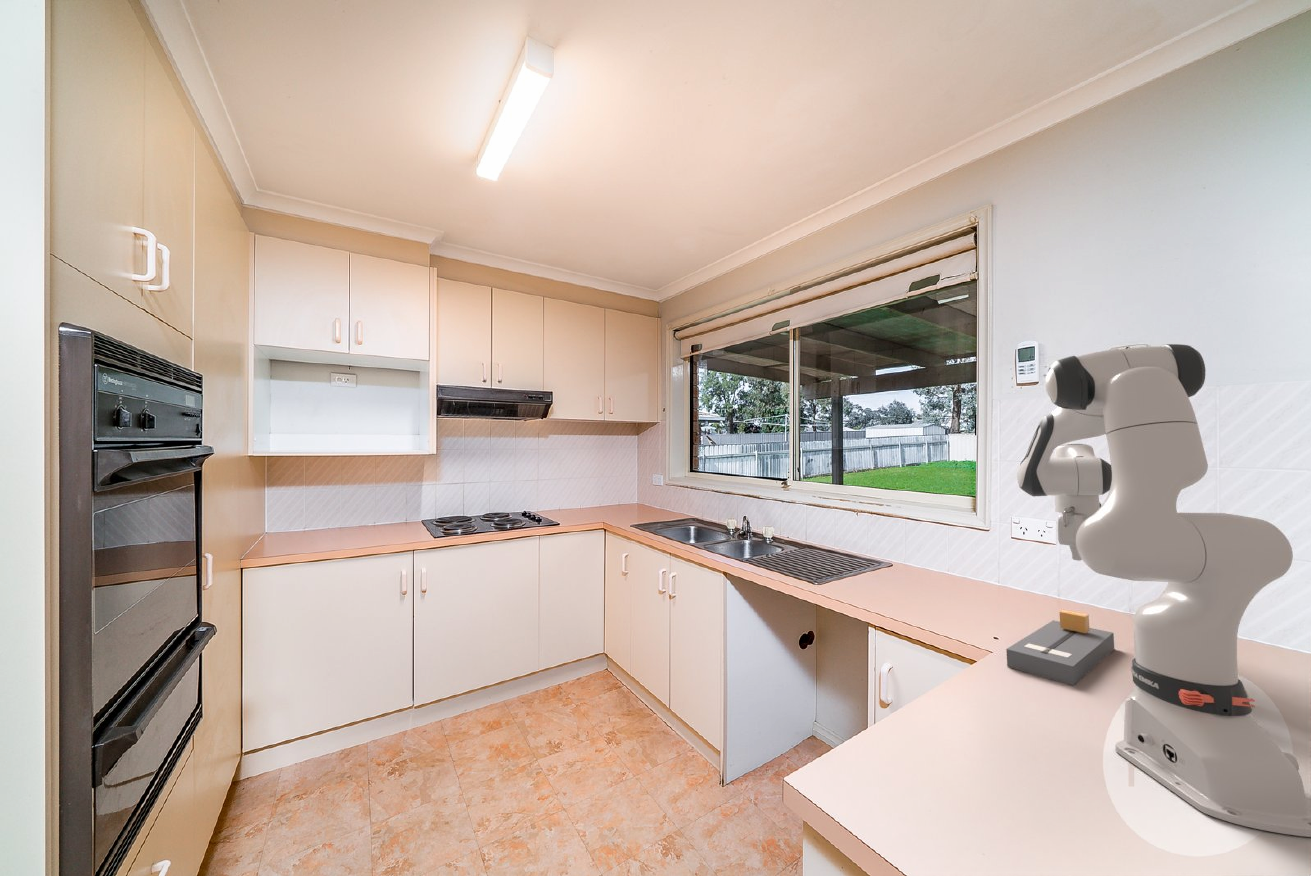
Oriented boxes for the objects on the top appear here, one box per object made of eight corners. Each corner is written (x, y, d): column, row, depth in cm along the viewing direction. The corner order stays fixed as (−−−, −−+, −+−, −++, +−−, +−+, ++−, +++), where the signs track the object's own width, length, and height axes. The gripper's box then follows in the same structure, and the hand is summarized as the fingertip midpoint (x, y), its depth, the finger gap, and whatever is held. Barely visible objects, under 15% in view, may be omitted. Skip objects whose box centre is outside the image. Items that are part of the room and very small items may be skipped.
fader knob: (1085, 633, 119) (1085, 616, 119) (1060, 627, 123) (1059, 611, 123) (1089, 630, 121) (1088, 614, 121) (1064, 625, 125) (1063, 609, 125)
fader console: (1074, 685, 102) (1072, 665, 102) (1007, 666, 112) (1006, 648, 112) (1114, 649, 120) (1113, 632, 120) (1054, 635, 130) (1053, 619, 130)
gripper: (1080, 509, 119) (1083, 566, 118) (1103, 504, 131) (1106, 555, 130) (1048, 507, 124) (1051, 562, 123) (1073, 502, 136) (1076, 552, 135)
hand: (1080, 559), depth 127 cm, fingers open, 3 cm apart
